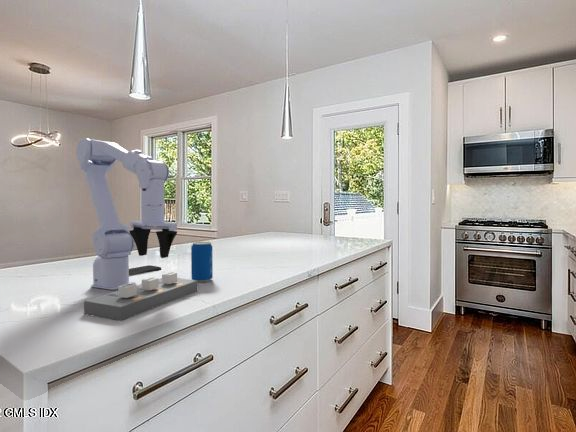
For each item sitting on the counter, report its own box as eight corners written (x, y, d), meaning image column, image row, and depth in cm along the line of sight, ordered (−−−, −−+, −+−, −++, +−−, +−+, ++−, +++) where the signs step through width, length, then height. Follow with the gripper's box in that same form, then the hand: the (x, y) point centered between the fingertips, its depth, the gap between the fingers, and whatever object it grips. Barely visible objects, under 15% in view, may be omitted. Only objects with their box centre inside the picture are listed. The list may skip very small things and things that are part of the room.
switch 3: (162, 283, 92) (161, 273, 92) (169, 280, 95) (169, 271, 95) (169, 284, 91) (169, 274, 91) (177, 281, 94) (177, 272, 94)
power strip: (84, 314, 77) (83, 300, 77) (177, 283, 106) (177, 273, 106) (120, 321, 73) (120, 306, 73) (208, 286, 102) (208, 276, 101)
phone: (162, 267, 126) (123, 274, 114) (162, 270, 126) (123, 278, 114) (149, 265, 131) (110, 271, 118) (149, 268, 131) (110, 275, 118)
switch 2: (141, 289, 86) (141, 279, 85) (150, 286, 88) (150, 276, 88) (149, 290, 85) (149, 280, 84) (158, 287, 87) (158, 277, 87)
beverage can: (207, 283, 106) (207, 244, 105) (187, 282, 107) (187, 243, 106) (215, 278, 112) (215, 241, 112) (197, 277, 113) (197, 241, 113)
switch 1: (118, 296, 79) (118, 285, 79) (128, 293, 82) (128, 283, 82) (126, 298, 78) (126, 287, 78) (136, 294, 81) (136, 284, 81)
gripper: (120, 205, 92) (121, 256, 92) (163, 206, 86) (163, 260, 87) (141, 205, 98) (142, 252, 99) (182, 206, 92) (182, 256, 93)
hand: (153, 256), depth 93 cm, fingers open, 7 cm apart
